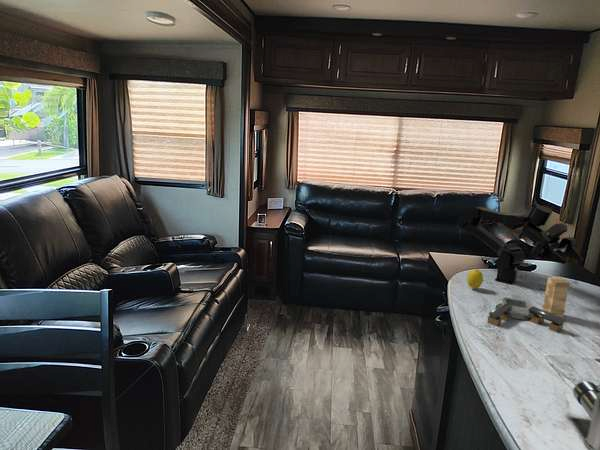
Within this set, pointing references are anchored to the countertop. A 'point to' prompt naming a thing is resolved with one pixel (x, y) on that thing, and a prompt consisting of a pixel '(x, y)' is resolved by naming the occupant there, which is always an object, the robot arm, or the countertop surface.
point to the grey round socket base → (517, 308)
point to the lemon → (475, 278)
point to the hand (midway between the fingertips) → (573, 261)
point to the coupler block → (556, 296)
